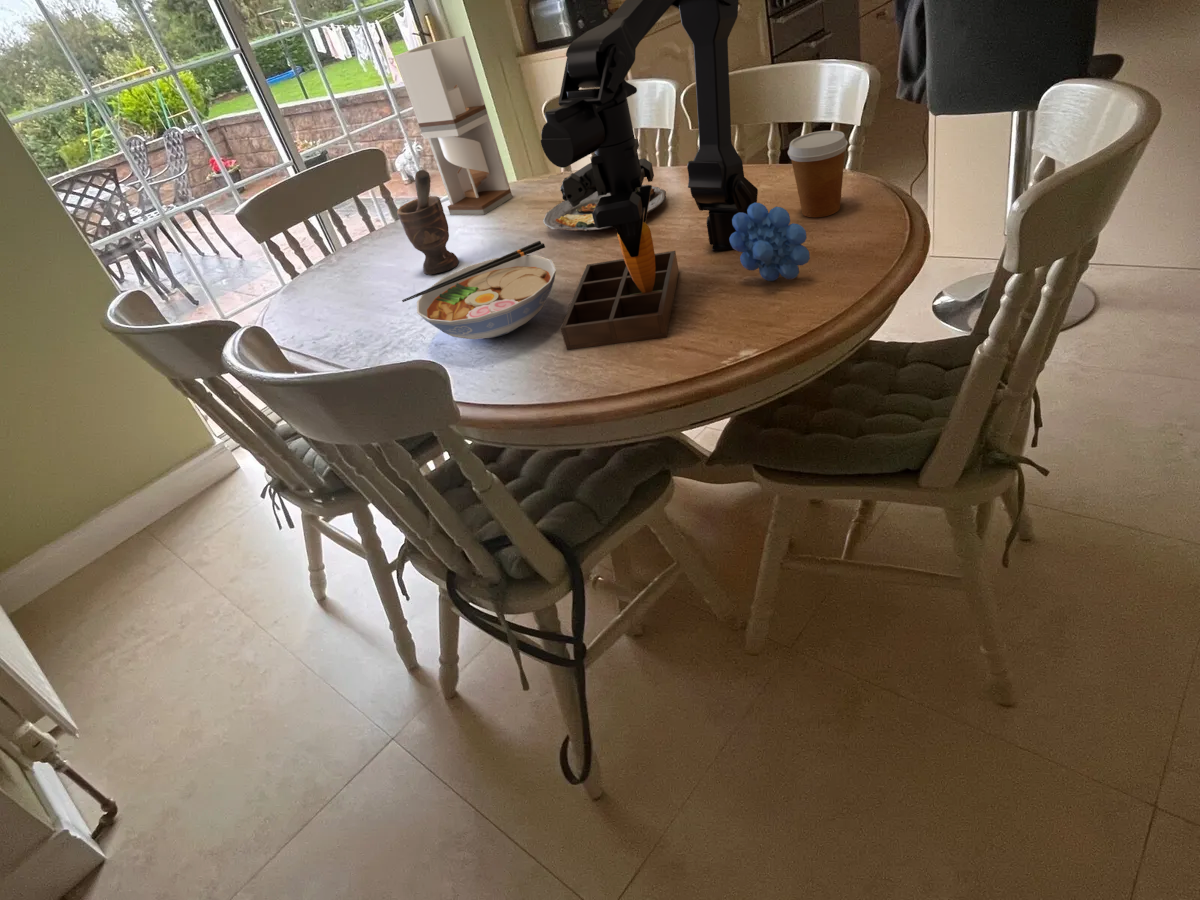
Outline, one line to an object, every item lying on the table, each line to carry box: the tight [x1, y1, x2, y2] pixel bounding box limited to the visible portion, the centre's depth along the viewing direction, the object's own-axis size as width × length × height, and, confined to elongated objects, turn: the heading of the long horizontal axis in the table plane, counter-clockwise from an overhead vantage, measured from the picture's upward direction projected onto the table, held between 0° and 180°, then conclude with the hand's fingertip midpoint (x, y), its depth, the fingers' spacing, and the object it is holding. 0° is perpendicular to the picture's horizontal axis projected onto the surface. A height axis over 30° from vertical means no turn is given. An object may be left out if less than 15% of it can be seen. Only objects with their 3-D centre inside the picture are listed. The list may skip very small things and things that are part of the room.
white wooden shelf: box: [394, 35, 513, 216], centre depth 169 cm, size 11×11×35 cm
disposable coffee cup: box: [787, 129, 849, 218], centre depth 125 cm, size 10×10×12 cm
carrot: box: [616, 222, 656, 293], centre depth 109 cm, size 5×5×15 cm
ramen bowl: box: [401, 240, 557, 340], centre depth 118 cm, size 25×23×8 cm
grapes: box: [729, 202, 811, 282], centre depth 107 cm, size 12×7×12 cm, turn 62°
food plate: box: [543, 184, 667, 232], centre depth 151 cm, size 25×23×4 cm
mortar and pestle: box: [396, 169, 459, 276], centre depth 144 cm, size 12×9×20 cm
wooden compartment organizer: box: [560, 250, 680, 350], centre depth 114 cm, size 15×22×4 cm
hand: (636, 248), depth 109 cm, fingers closed on carrot, 5 cm apart
